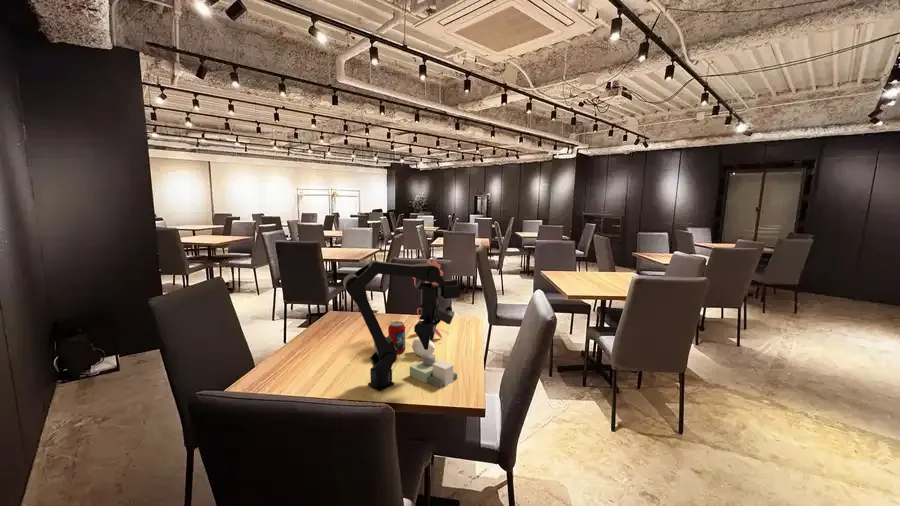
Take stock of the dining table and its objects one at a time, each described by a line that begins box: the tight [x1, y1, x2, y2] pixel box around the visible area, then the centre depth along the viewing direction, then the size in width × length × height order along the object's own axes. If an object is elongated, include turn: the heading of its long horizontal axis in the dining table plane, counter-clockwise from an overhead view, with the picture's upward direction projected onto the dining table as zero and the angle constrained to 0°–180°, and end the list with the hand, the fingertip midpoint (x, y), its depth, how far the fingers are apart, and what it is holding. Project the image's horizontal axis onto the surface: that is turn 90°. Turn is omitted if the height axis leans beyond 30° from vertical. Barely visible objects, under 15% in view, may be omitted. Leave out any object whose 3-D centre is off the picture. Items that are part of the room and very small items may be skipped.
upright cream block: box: [433, 359, 454, 387], centre depth 128 cm, size 4×6×6 cm, turn 48°
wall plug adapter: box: [409, 353, 458, 389], centre depth 131 cm, size 10×14×6 cm
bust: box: [411, 337, 436, 358], centre depth 151 cm, size 12×8×11 cm
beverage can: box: [387, 320, 406, 355], centre depth 153 cm, size 7×7×12 cm
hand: (428, 344), depth 130 cm, fingers open, 9 cm apart
